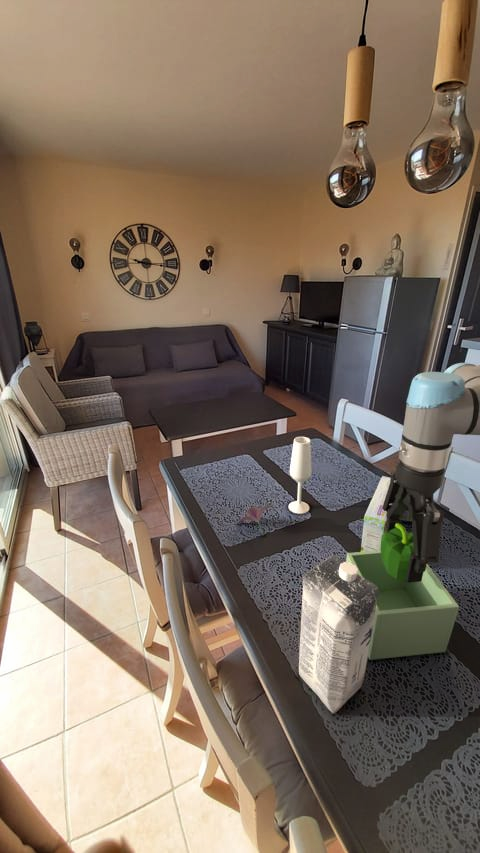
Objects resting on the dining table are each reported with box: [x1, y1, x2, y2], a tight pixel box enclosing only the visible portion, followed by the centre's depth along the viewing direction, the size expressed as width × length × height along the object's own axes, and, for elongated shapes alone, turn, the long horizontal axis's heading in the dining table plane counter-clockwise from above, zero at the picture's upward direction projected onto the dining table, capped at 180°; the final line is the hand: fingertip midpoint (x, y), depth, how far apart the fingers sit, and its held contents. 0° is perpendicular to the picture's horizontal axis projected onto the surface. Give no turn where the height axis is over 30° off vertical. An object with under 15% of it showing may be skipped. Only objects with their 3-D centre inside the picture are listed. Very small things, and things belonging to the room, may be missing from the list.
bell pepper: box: [381, 523, 414, 581], centre depth 70 cm, size 8×8×10 cm
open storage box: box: [345, 550, 460, 661], centre depth 76 cm, size 16×16×13 cm
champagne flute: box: [288, 436, 313, 515], centre depth 111 cm, size 7×7×24 cm
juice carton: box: [298, 554, 378, 715], centre depth 62 cm, size 9×10×27 cm
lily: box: [236, 503, 274, 536], centre depth 106 cm, size 12×12×10 cm
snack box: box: [360, 475, 392, 552], centre depth 98 cm, size 21×6×15 cm, turn 149°
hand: (401, 562), depth 71 cm, fingers closed on bell pepper, 8 cm apart
